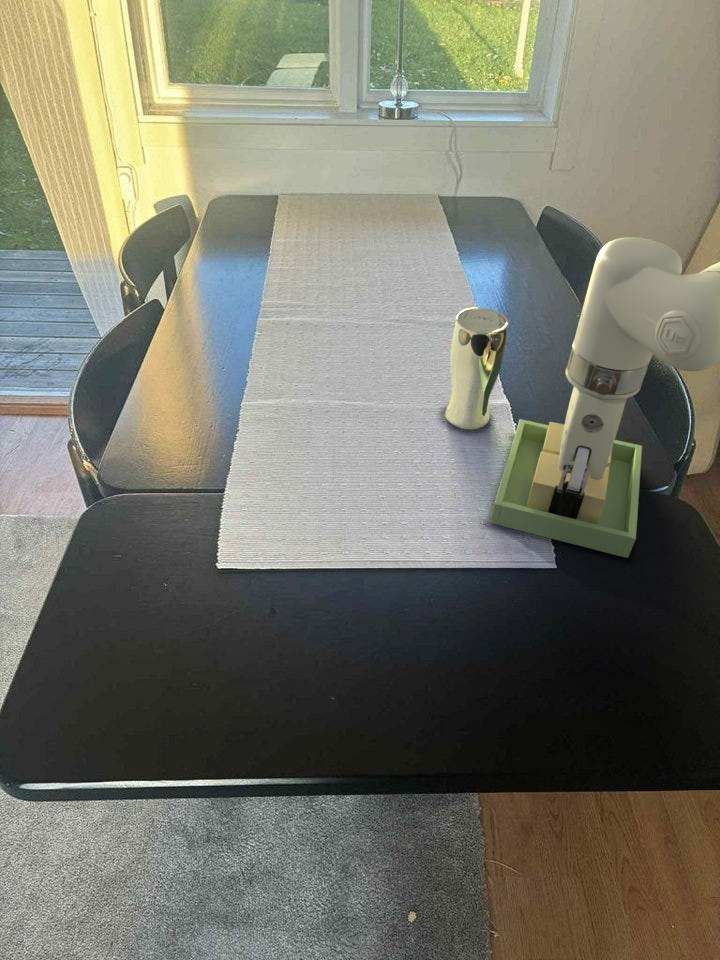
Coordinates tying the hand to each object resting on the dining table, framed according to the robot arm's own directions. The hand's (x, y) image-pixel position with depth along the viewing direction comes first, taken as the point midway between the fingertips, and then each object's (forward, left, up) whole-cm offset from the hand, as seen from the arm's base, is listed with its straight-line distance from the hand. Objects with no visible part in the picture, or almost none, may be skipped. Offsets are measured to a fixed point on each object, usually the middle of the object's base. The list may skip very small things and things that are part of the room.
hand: (565, 496), depth 82 cm
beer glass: (+15, -15, -2) cm, 21 cm away
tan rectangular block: (0, 0, -1) cm, 1 cm away
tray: (0, -4, -2) cm, 4 cm away
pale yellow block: (0, -8, -2) cm, 8 cm away
